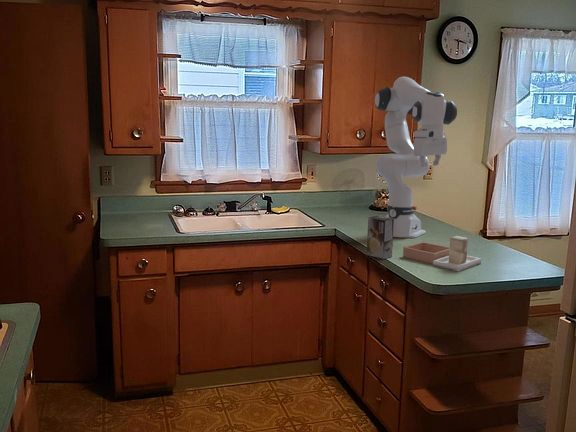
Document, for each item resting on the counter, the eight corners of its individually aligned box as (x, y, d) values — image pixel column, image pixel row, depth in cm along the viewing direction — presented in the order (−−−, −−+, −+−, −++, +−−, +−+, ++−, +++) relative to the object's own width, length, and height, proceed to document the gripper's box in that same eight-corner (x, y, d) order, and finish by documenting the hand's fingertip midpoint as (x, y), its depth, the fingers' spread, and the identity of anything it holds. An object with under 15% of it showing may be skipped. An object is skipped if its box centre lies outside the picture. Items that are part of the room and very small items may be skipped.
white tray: (456, 257, 246) (456, 253, 246) (480, 263, 238) (481, 258, 238) (432, 265, 234) (433, 260, 233) (458, 271, 226) (458, 266, 226)
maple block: (454, 260, 239) (456, 235, 237) (466, 262, 236) (468, 238, 234) (448, 262, 236) (450, 237, 234) (459, 264, 232) (461, 239, 231)
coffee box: (392, 256, 246) (395, 218, 243) (383, 259, 241) (385, 220, 238) (375, 252, 252) (377, 215, 249) (365, 254, 248) (367, 217, 245)
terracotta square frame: (422, 250, 256) (422, 241, 256) (452, 257, 246) (453, 248, 246) (403, 256, 246) (403, 247, 246) (433, 263, 236) (434, 253, 235)
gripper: (438, 131, 252) (436, 164, 255) (411, 132, 238) (409, 167, 240) (452, 132, 248) (449, 165, 250) (425, 133, 233) (422, 168, 236)
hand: (429, 166), depth 245 cm, fingers open, 8 cm apart
